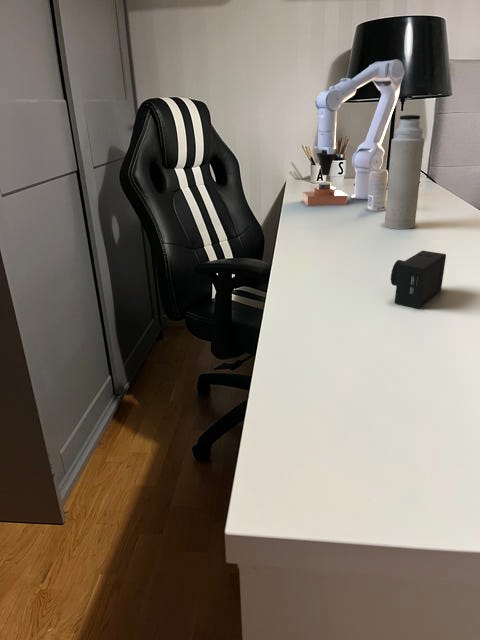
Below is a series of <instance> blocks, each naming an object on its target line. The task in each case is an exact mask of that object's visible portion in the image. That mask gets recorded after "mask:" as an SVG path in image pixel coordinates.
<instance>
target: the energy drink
mask: <svg viewBox="0 0 480 640" xmlns="http://www.w3.org/2000/svg"><path fill="white" fill-rule="evenodd" d="M388 177H389V169H383V168H382V169H381V168H380V169H375V170H371V172H370V180H369V194H368V199H367V207H366V208H367V210H368V211H370V212H382V211H384V210H386V201H387V191H388Z"/></svg>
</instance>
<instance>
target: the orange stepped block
mask: <svg viewBox="0 0 480 640" xmlns="http://www.w3.org/2000/svg"><path fill="white" fill-rule="evenodd" d="M302 202H303V203H304V204H305V205H306V206H307V207H321V206H323V207H326V206H347V204H348V194H346V193H345V192H343V191H341V190H336V187H335V186H331V189H319V186H314V188H313V190H312V191H302Z"/></svg>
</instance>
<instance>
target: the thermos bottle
mask: <svg viewBox="0 0 480 640" xmlns="http://www.w3.org/2000/svg"><path fill="white" fill-rule="evenodd" d="M420 119H421V115H418V114H406V115H405V114H404V115H400V116H399V120H400V121H399V124H398V127H397V128H396V129H395V131H394V137H393V138H392V139H391V142H390V143H391V144H390V156H389V167H388V180H387V191H386V203H385V212H384V223H383V225H384V227H385V228H389V229H396V230H409V229H413V228H415V226H416V220H417V210H418V209H417V208H418V200H419V190H420V180H421V173H422V165H423V156H424V155H423V154H424V146H425V138H423V134H424V133H423V129H422V128H421V127H420V125H421V124H420Z"/></svg>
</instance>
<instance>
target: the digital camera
mask: <svg viewBox="0 0 480 640" xmlns="http://www.w3.org/2000/svg"><path fill="white" fill-rule="evenodd" d="M446 260H447V254H446V253H442V252H435V251H428V250H421V251H418V252H417V253H416V254H413V255H412V256H410V257H409V258H407V259H406V260H401V259H397V260H396V261H395V262H394V263H393V266H392V268H391V273H390V283H391V285H392V286H395V296H394V304H396V305H399V306H404V307H410V308H413V309H418V310H419V309H421V308H422V307H423V306H424V305H426V304H427V303H428V302H429V301H430V300H432V299H433V298H434V297H436V296H437V295H438V294H439V293H441V292H442V287H443V280H444V274H445V273H444V272H445V266H446Z"/></svg>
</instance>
